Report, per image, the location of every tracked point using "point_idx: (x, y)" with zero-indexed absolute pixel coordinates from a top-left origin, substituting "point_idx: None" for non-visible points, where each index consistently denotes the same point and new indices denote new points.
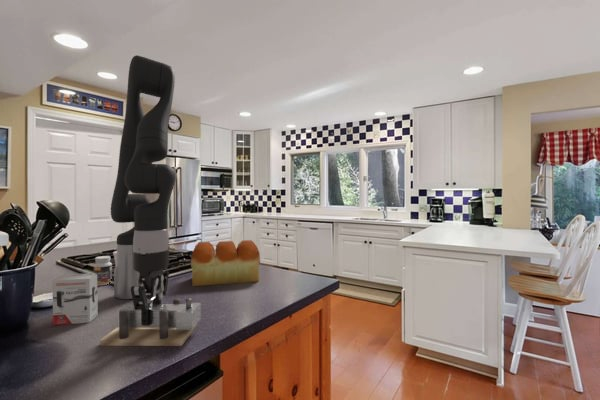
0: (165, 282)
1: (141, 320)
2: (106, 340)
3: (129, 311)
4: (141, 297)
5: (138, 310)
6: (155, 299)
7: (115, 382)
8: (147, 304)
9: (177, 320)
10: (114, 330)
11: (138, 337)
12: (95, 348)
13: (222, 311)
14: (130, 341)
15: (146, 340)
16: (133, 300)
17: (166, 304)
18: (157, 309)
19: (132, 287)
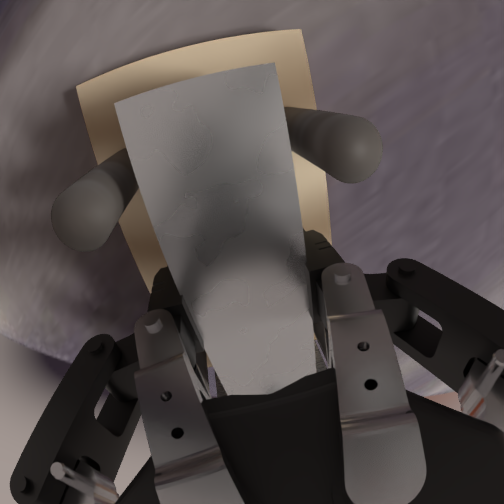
0: (444, 382)
1: (153, 282)
2: (83, 116)
3: (147, 201)
4: (80, 458)
5: (170, 269)
6: (322, 308)
7: (10, 319)
8: (138, 406)
9: (218, 394)
10: (178, 55)
11: (150, 233)
12: (64, 94)
13: (425, 317)
14: (119, 219)
15: (144, 280)
16: (51, 406)
17: (307, 345)
18: (225, 354)
19: (22, 500)
